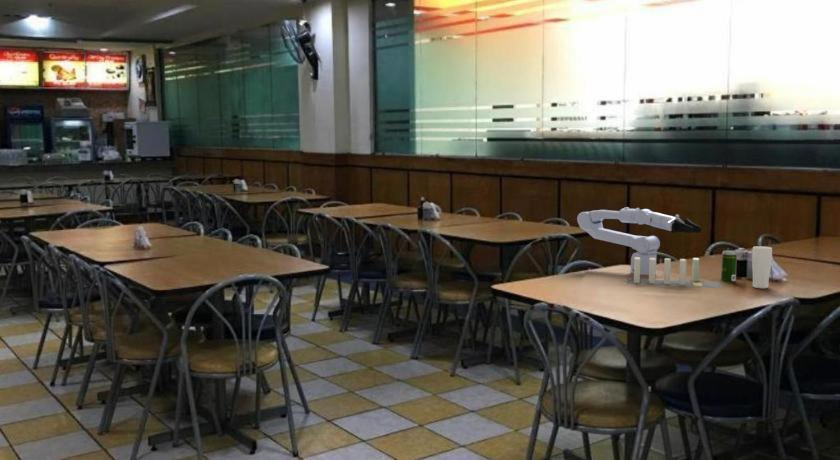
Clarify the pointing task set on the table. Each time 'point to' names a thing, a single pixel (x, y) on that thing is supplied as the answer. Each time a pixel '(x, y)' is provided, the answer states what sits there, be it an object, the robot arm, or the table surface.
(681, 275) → the domino
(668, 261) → the domino
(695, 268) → the domino
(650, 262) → the domino
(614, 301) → the table surface
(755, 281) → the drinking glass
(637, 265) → the domino
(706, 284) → the domino mat
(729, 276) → the beer can
